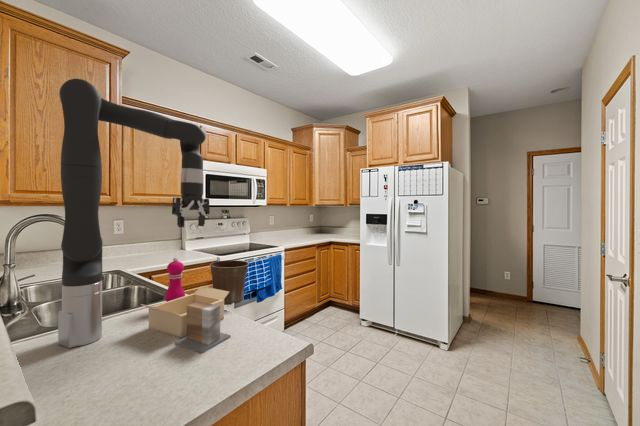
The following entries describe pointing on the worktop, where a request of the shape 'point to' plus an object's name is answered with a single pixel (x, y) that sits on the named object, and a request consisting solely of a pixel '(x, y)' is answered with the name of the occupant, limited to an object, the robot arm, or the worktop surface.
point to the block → (203, 322)
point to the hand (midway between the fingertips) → (191, 226)
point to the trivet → (200, 346)
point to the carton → (182, 311)
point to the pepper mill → (174, 281)
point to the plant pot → (230, 279)
